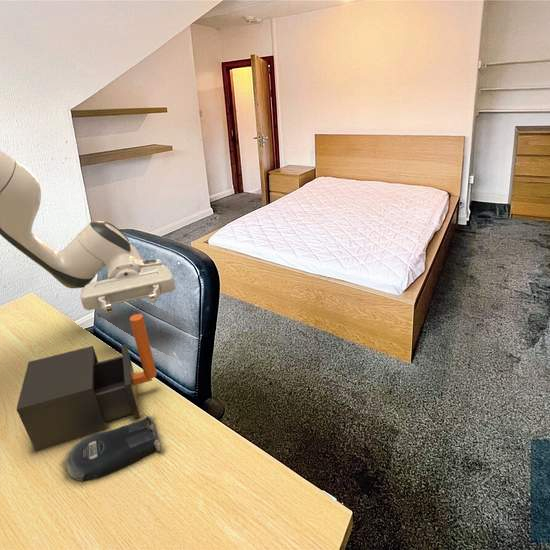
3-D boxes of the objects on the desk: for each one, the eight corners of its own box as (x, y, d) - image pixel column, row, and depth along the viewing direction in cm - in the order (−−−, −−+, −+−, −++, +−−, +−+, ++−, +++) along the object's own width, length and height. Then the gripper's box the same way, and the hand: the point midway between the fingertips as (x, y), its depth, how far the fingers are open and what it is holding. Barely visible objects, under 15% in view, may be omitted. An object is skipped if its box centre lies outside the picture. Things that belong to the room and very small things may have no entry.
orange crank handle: (156, 368, 91) (139, 299, 84) (164, 409, 80) (146, 333, 72) (79, 389, 87) (54, 319, 79) (76, 436, 75) (46, 359, 67)
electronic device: (151, 426, 80) (66, 449, 73) (151, 406, 77) (62, 428, 71) (162, 466, 73) (69, 496, 66) (162, 445, 70) (64, 475, 63)
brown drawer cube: (106, 386, 89) (93, 345, 84) (107, 433, 77) (92, 388, 72) (45, 404, 85) (28, 361, 80) (37, 455, 73) (16, 409, 69)
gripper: (78, 275, 95) (74, 302, 83) (167, 257, 101) (175, 280, 89) (85, 299, 97) (83, 328, 86) (171, 280, 103) (180, 305, 92)
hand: (131, 303), depth 87 cm, fingers open, 8 cm apart
